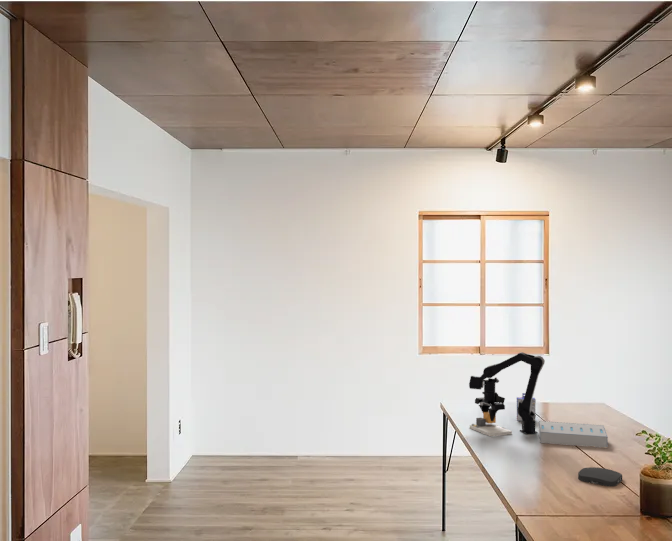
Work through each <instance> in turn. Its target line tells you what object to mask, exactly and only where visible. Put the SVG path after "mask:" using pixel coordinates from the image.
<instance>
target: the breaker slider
mask: <svg viewBox="0 0 672 541" xmlns="http://www.w3.org/2000/svg"><path fill="white" fill-rule="evenodd" d="M475 421H476V422H475V425H478V426H486V419H484V418H483V417H476V420H475Z"/></svg>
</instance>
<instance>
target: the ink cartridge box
mask: <svg viewBox="0 0 672 541" xmlns="http://www.w3.org/2000/svg"><path fill="white" fill-rule="evenodd" d="M525 393H526V392H525ZM525 393H524V392H523V393H522V395H521V397H520V396H519V397H518V396H516V421H519V422H522V418H521V417H520V416H519V414H518V410H517V409H518V407H519V402H520V401H521V400H522V401H523V400H524V397H525ZM536 401H537V399H536V398H535V397H533V398H532V411H533V413H534V414H535V415H536V405H537V404H536ZM534 420H535V421H536V418H535V419H534Z"/></svg>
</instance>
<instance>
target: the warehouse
mask: <svg viewBox="0 0 672 541" xmlns="http://www.w3.org/2000/svg"><path fill="white" fill-rule="evenodd" d="M538 421H539V422H538V437H539V443H540V444H552V445H562V446H563V445H565V446H566V445H567V446H576V445H577V447H588V446H595V447H594V448H601V447H608V446H609V445H608V444H609V442H608V440H609V439H608V434H607V432H606V431H607V430H606V429H605V426H604V425H603V424H588V423H587V424H585V423H576V422H575V423H574V422H573V423H571V422H557V421H543V420H542V421H541V420H538Z"/></svg>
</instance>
